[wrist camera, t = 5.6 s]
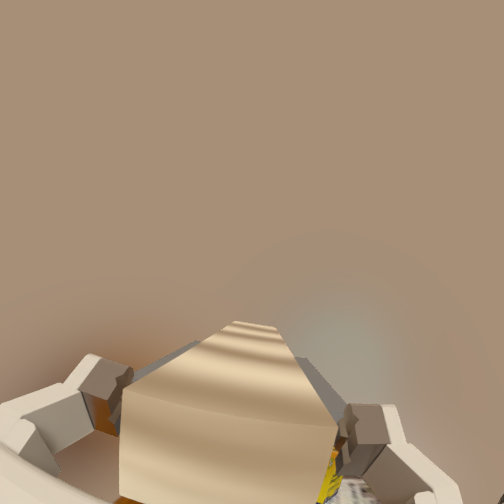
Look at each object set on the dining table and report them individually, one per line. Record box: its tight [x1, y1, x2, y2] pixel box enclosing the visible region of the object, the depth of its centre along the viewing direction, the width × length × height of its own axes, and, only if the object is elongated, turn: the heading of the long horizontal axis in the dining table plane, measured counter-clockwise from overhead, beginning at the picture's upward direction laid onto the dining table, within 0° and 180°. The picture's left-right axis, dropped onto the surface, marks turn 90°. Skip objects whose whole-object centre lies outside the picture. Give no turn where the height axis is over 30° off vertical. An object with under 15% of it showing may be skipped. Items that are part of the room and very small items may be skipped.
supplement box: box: [316, 446, 343, 504], centre depth 40 cm, size 6×6×11 cm
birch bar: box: [119, 321, 338, 504], centre depth 18 cm, size 26×4×3 cm, turn 178°
